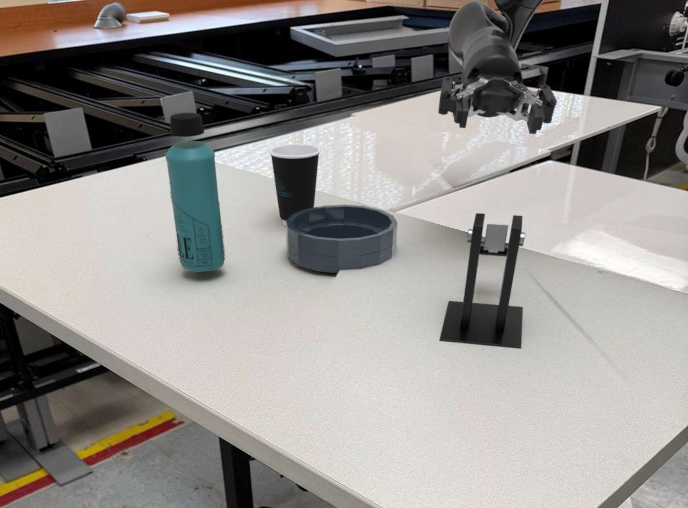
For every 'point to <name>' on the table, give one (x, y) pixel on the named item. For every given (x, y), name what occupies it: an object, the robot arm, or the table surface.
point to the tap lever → (495, 240)
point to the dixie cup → (294, 177)
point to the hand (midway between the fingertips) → (499, 122)
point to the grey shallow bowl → (340, 237)
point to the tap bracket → (486, 319)
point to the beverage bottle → (195, 197)
